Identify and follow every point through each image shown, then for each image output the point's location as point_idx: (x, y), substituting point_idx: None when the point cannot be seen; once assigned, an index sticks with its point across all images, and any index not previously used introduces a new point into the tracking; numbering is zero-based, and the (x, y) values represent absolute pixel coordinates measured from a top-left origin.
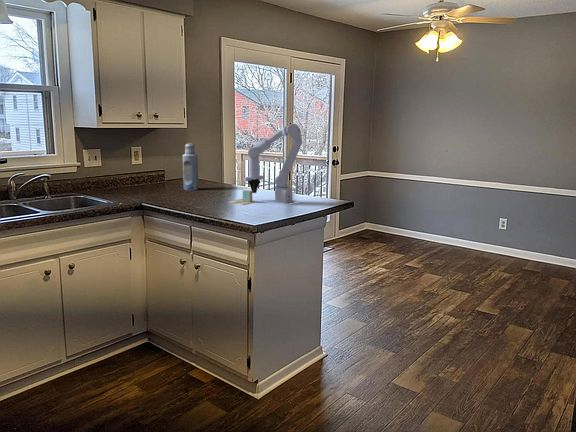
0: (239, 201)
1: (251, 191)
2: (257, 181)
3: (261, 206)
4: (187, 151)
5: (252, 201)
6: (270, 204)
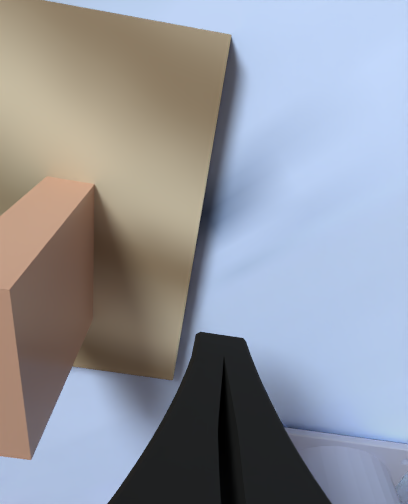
0: None
1: (9, 456)
2: None
3: None
4: None
5: (122, 303)
6: None
